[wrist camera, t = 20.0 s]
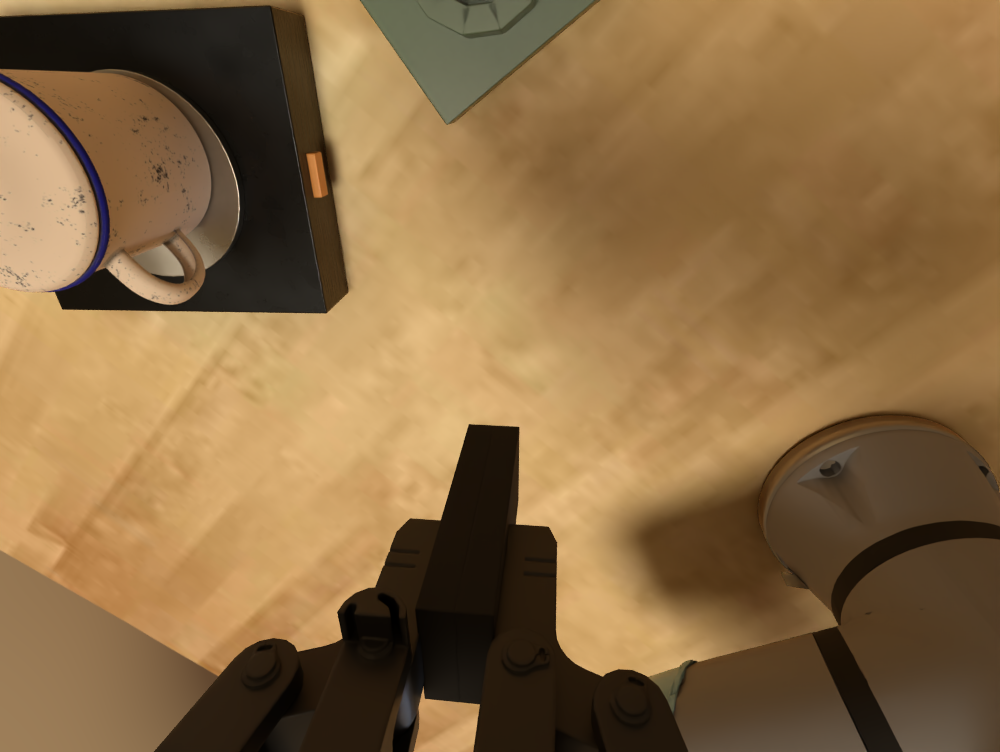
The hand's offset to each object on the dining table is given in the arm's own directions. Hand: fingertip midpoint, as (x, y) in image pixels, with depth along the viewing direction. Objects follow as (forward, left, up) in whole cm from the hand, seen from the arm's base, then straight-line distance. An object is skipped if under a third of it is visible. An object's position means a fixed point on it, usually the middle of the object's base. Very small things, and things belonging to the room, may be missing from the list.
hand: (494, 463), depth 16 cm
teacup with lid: (+20, -6, -17) cm, 27 cm away
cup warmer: (+21, -6, -21) cm, 31 cm away
